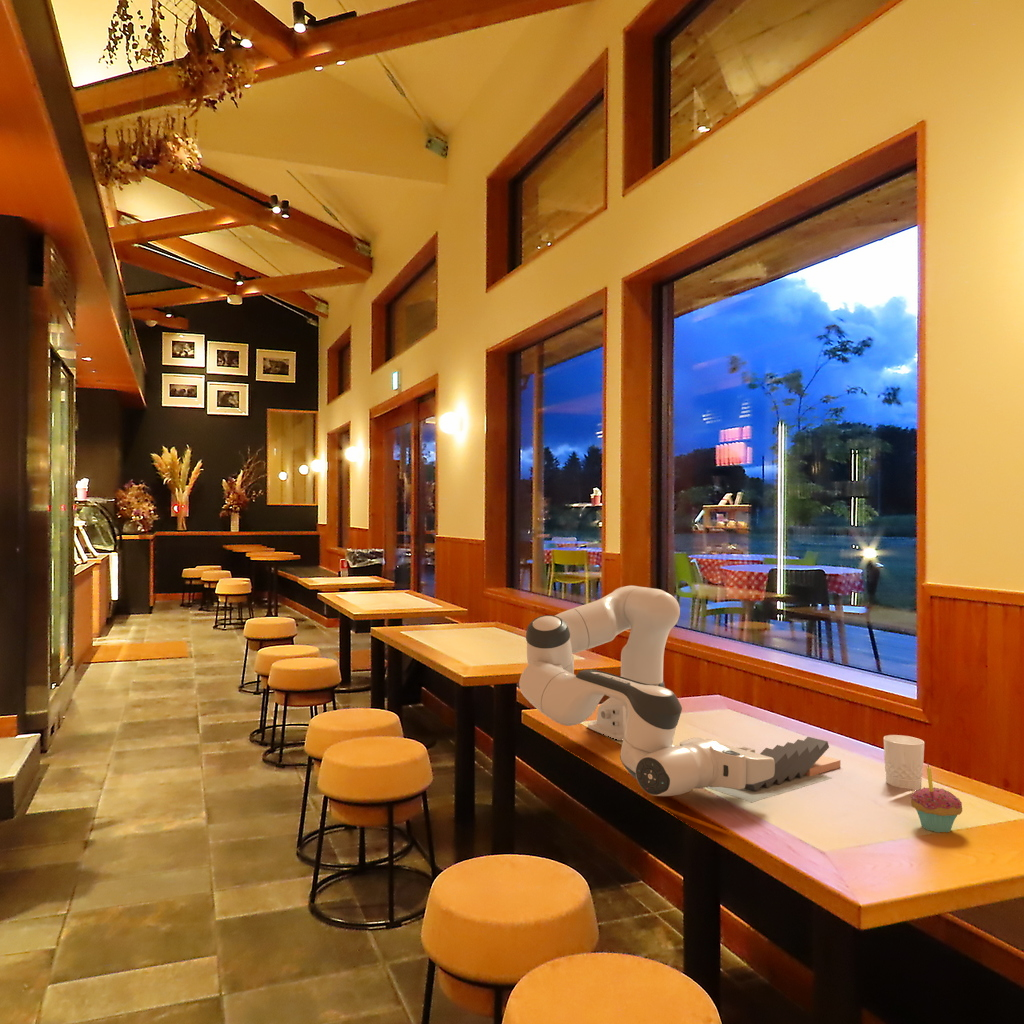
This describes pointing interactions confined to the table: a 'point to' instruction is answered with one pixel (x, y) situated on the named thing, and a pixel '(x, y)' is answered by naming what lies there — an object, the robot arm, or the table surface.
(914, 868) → the table surface
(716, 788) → the felt strip
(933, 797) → the cupcake
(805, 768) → the domino
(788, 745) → the domino
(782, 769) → the domino
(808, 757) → the domino
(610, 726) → the robot arm
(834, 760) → the domino
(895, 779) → the white cup
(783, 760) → the domino
